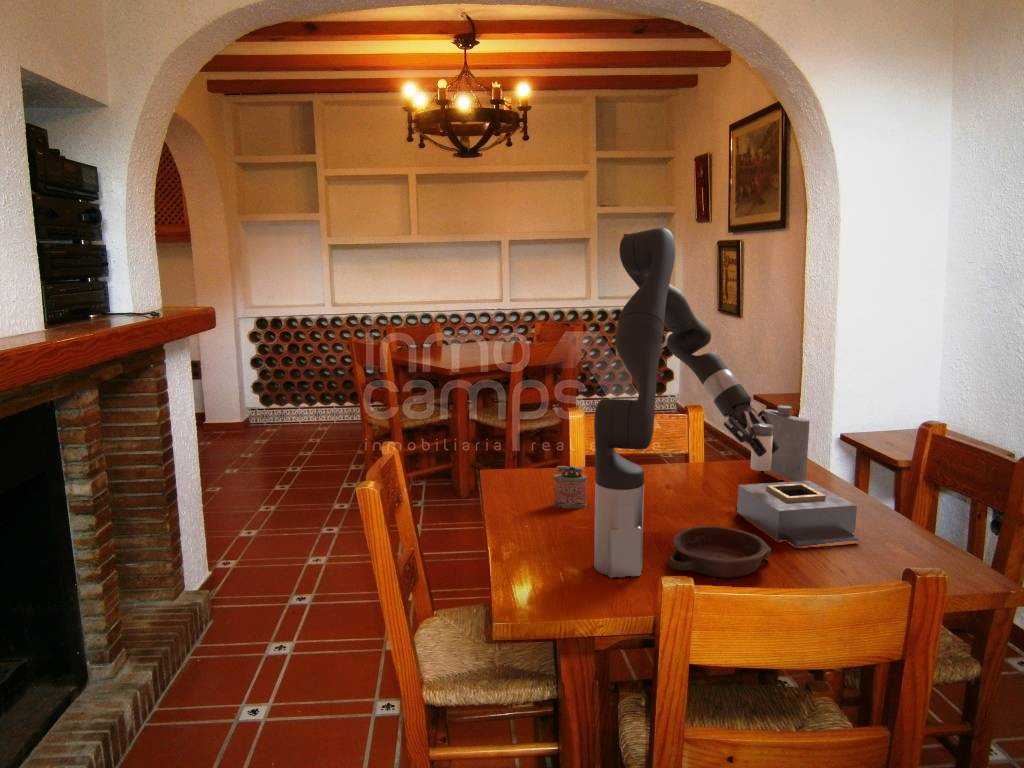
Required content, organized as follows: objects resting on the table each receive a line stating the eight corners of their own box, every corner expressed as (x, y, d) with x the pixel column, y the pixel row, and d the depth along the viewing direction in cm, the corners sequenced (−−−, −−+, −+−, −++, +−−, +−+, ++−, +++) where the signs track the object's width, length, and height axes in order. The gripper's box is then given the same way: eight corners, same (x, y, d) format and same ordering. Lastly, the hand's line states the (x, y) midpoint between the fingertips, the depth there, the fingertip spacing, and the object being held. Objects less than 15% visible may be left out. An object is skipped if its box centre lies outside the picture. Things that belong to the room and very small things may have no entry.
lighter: (586, 503, 180) (587, 464, 179) (586, 508, 177) (587, 468, 175) (553, 503, 181) (554, 463, 179) (553, 507, 178) (553, 467, 176)
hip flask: (808, 485, 194) (813, 411, 190) (795, 487, 192) (800, 412, 189) (767, 469, 208) (771, 400, 205) (755, 471, 207) (759, 401, 204)
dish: (646, 556, 149) (647, 532, 148) (738, 542, 156) (739, 519, 155) (695, 593, 133) (696, 566, 132) (795, 575, 140) (796, 550, 139)
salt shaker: (774, 470, 166) (777, 427, 165) (756, 471, 166) (759, 428, 164) (764, 465, 171) (766, 423, 169) (746, 466, 170) (749, 423, 168)
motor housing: (866, 543, 154) (869, 507, 153) (787, 549, 151) (789, 512, 150) (798, 503, 180) (800, 471, 178) (729, 508, 177) (730, 475, 175)
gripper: (717, 386, 166) (762, 448, 159) (754, 379, 175) (798, 438, 168) (697, 405, 171) (740, 467, 164) (734, 398, 180) (776, 456, 173)
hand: (769, 452), depth 166 cm, fingers closed on salt shaker, 4 cm apart
